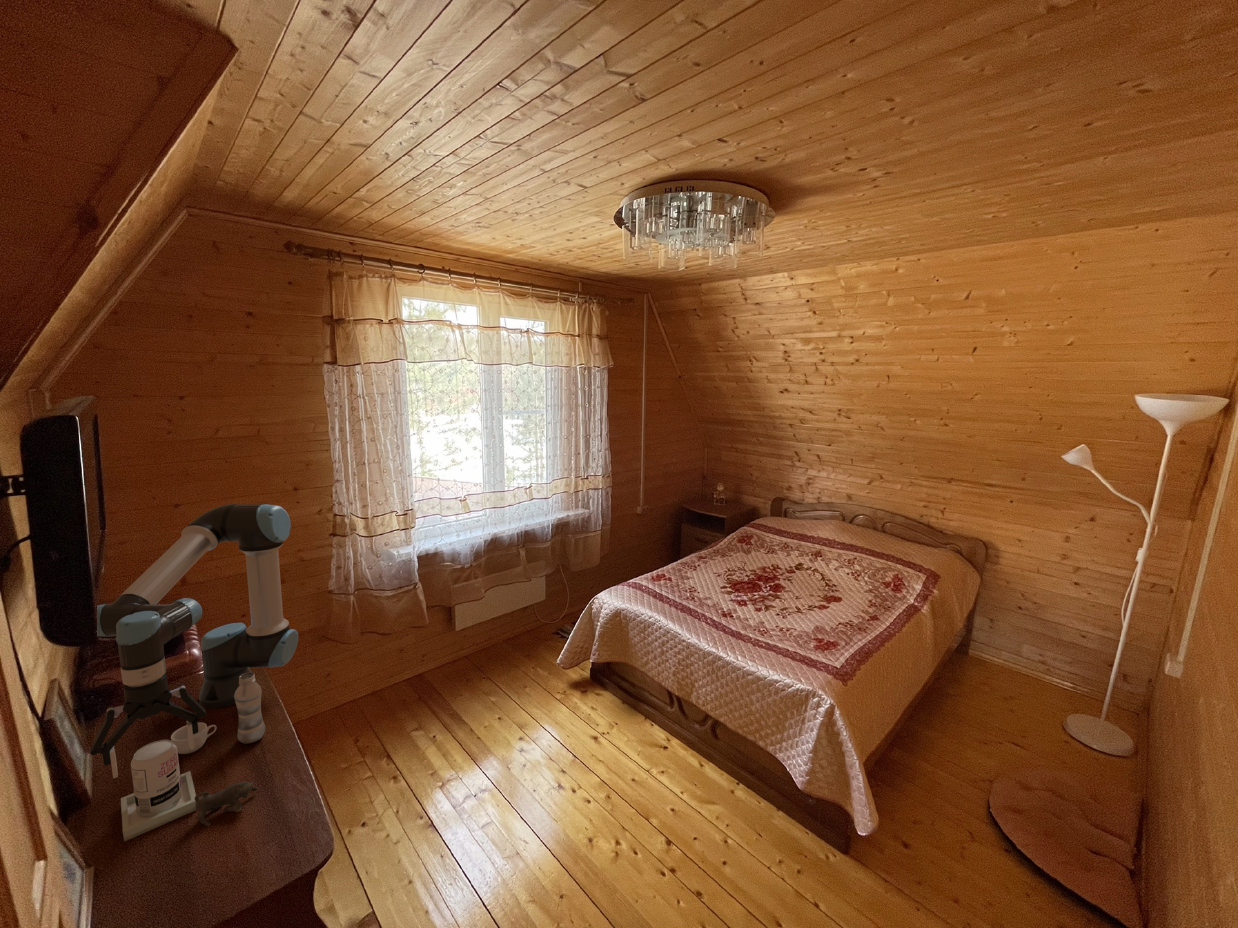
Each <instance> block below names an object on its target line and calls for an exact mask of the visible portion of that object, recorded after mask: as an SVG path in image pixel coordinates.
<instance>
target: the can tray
mask: <svg viewBox="0 0 1238 928" xmlns="http://www.w3.org/2000/svg"><path fill="white" fill-rule="evenodd" d="M180 780H181V790H182V796H181V798H180V800H179V801H178V802H177V803H176V805H175V806H173V807H172V808H171V809H169V810H167V811H164V812H162V813H160V814H157V815H155V816H153V817H142V816H139V815H138V814H137V812H136V804H135V796H134V792H132V793H131V794H127V795H126V796H123V797H121V798H120V807H121V824H122V835H123V841H124V843H125V842H126V841H129V840H131V839H133V838H136V837H137V836H138V837H139V836H140V835H142V834H146V833H147V832H150V831H152V830H154V829H156V828H158V827H161V826H163V825H165V824H168V823H170V822H172V821H174V820H177V819H179V818H181V817H184V816H186V815H188V814H191V813H192V812H193V813H194V811H197V809H196V801H195V799H194V798H195V796H196V790H195V785H194V782H193V778H192V772H191V770H189V771H187V772H186V771H185V772H184V773H182V774H181V773H180Z"/></svg>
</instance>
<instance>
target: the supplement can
mask: <svg viewBox="0 0 1238 928" xmlns="http://www.w3.org/2000/svg"><path fill="white" fill-rule="evenodd" d="M130 771H131V779H132V786H133V793H134V796H135V804H136V812H137V814H138V815H139V816H142V817H153V816H155V815H157V814H160V813H162V812H164V811H167V810H169V809H171V808H172V807H173V806H175V805H176V803H177V802H178V801H179V800H180V798H181V796H182V790H181V780H180V775H181V772H180V771H181V770H180V764H179V753H178V752H177V747H176V745H175V744H173V742H172V741H171V740H169V739H160V740H156V741H153V742H150V743H148V744H146V745H143V746H142V747H140V748H139V749H137V750H136V752H134V755H133V757H132V759H131V762H130Z"/></svg>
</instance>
